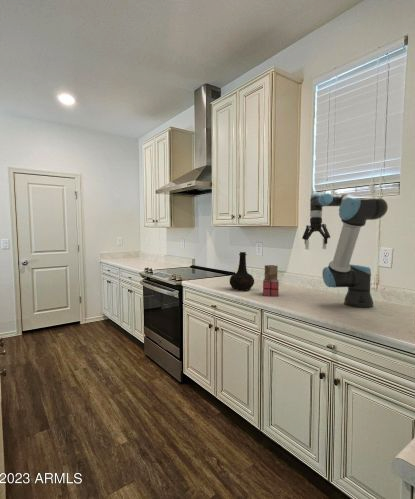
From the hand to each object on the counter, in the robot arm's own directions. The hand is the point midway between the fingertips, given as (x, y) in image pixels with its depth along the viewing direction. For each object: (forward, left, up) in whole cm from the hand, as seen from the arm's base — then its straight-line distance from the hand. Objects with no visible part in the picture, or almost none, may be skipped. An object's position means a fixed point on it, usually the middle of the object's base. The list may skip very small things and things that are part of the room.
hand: (315, 249), depth 198 cm
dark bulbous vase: (+41, +29, -31) cm, 60 cm away
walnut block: (+17, +24, -21) cm, 36 cm away
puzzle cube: (+17, +23, -31) cm, 43 cm away
